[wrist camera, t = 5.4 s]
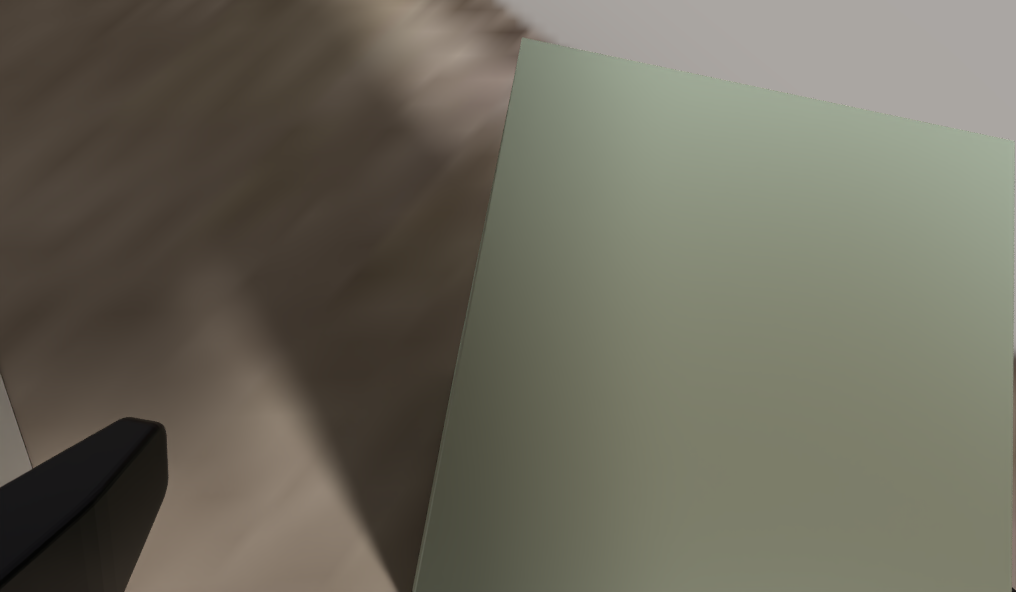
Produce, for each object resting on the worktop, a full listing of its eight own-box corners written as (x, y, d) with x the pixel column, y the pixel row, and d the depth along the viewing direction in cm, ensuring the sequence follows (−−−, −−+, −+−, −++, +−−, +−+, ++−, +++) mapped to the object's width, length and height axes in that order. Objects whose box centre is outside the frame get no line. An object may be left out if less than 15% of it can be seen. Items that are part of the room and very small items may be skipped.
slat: (553, 637, 16) (1006, 1176, 3) (408, 612, 16) (322, 1085, 3) (588, 396, 17) (1016, 141, 5) (454, 371, 17) (521, 35, 5)
